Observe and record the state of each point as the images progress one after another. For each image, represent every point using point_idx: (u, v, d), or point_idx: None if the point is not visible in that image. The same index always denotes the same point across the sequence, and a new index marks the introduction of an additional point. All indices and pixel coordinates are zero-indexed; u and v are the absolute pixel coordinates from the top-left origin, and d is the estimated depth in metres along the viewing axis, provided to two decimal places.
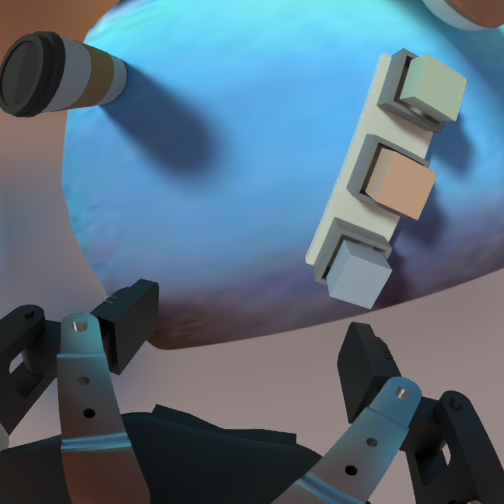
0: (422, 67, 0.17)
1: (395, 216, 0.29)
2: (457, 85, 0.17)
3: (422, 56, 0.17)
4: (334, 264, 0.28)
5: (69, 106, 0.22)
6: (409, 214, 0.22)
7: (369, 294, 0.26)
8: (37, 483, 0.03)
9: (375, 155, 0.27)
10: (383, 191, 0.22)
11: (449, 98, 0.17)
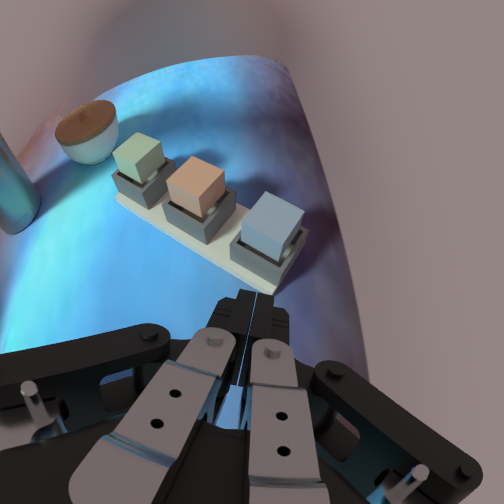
0: (119, 156, 0.31)
1: (242, 210, 0.37)
2: (138, 137, 0.33)
3: (114, 156, 0.32)
4: (262, 249, 0.29)
5: None
6: (217, 175, 0.30)
7: (287, 210, 0.28)
8: (38, 483, 0.03)
9: None
10: (193, 191, 0.29)
11: (144, 143, 0.32)
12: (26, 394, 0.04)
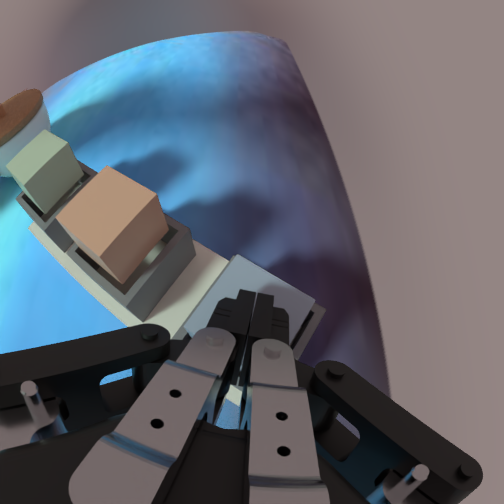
0: (11, 172, 0.15)
1: (206, 256, 0.21)
2: (42, 138, 0.17)
3: None
4: None
5: None
6: (142, 205, 0.14)
7: (280, 300, 0.14)
8: (38, 483, 0.03)
9: None
10: (92, 240, 0.13)
11: (46, 147, 0.16)
12: (26, 394, 0.04)
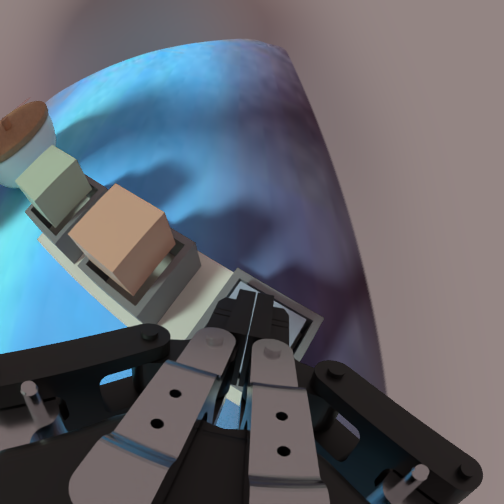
0: (21, 188, 0.17)
1: (211, 267, 0.22)
2: (50, 154, 0.18)
3: (19, 187, 0.18)
4: None
5: None
6: (151, 223, 0.15)
7: None
8: (37, 482, 0.03)
9: None
10: (105, 257, 0.14)
11: (55, 164, 0.18)
12: (26, 394, 0.04)
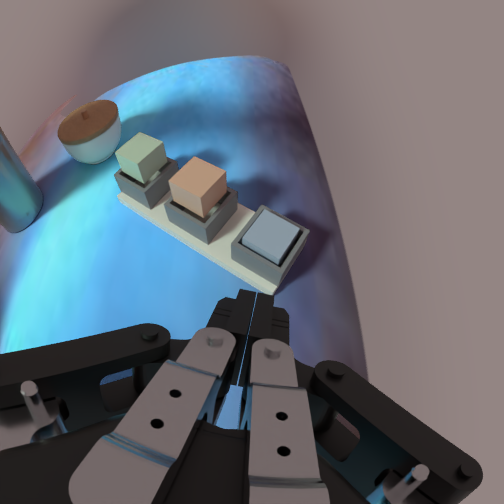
0: (122, 156, 0.32)
1: (243, 210, 0.37)
2: (140, 137, 0.33)
3: (117, 156, 0.32)
4: None
5: None
6: (219, 176, 0.30)
7: (284, 227, 0.31)
8: (38, 483, 0.03)
9: None
10: (195, 191, 0.29)
11: (147, 143, 0.33)
12: (26, 394, 0.04)
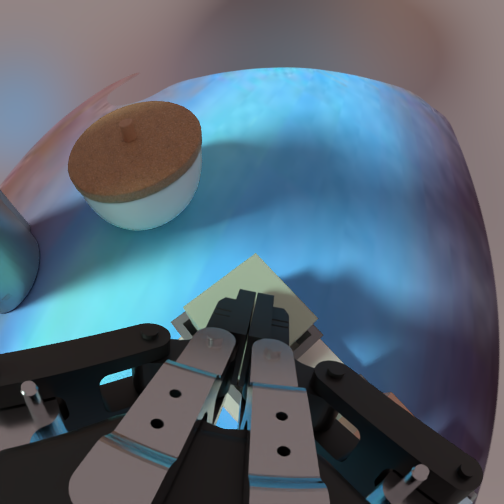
0: None
1: None
2: (258, 278, 0.14)
3: (188, 315, 0.14)
4: None
5: None
6: None
7: None
8: (37, 483, 0.03)
9: None
10: None
11: None
12: (26, 394, 0.04)
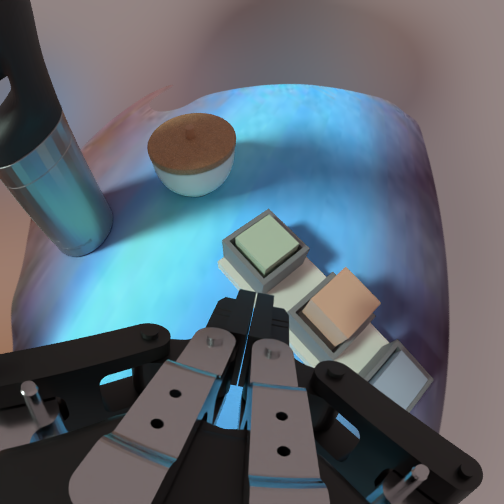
0: (245, 248, 0.28)
1: (368, 327, 0.29)
2: (270, 225, 0.30)
3: (236, 242, 0.29)
4: None
5: None
6: (373, 309, 0.23)
7: (414, 377, 0.23)
8: (38, 483, 0.03)
9: (305, 323, 0.29)
10: (343, 326, 0.22)
11: (278, 239, 0.29)
12: (26, 394, 0.04)
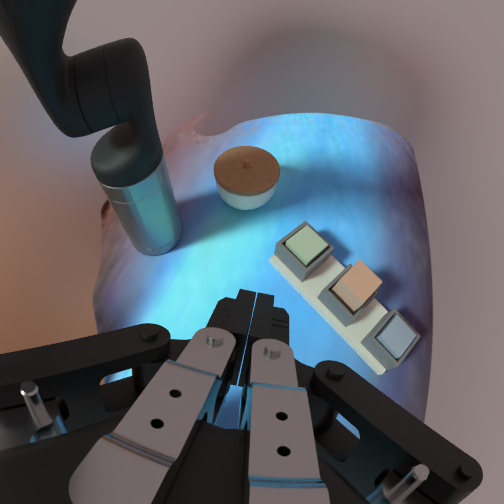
0: (293, 248, 0.42)
1: (374, 302, 0.43)
2: (308, 232, 0.43)
3: (286, 244, 0.43)
4: None
5: None
6: (377, 285, 0.36)
7: (407, 332, 0.36)
8: (37, 482, 0.03)
9: None
10: (360, 295, 0.36)
11: (314, 242, 0.43)
12: (26, 394, 0.04)
